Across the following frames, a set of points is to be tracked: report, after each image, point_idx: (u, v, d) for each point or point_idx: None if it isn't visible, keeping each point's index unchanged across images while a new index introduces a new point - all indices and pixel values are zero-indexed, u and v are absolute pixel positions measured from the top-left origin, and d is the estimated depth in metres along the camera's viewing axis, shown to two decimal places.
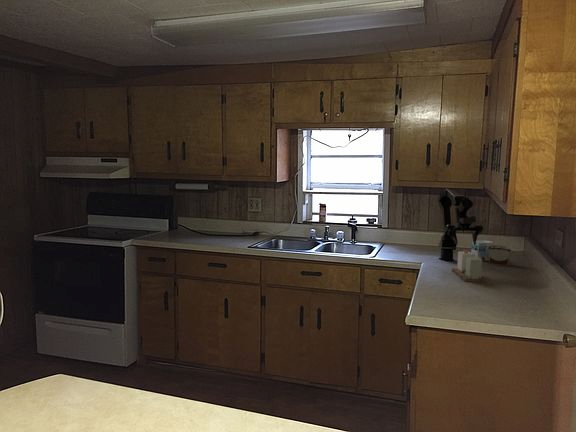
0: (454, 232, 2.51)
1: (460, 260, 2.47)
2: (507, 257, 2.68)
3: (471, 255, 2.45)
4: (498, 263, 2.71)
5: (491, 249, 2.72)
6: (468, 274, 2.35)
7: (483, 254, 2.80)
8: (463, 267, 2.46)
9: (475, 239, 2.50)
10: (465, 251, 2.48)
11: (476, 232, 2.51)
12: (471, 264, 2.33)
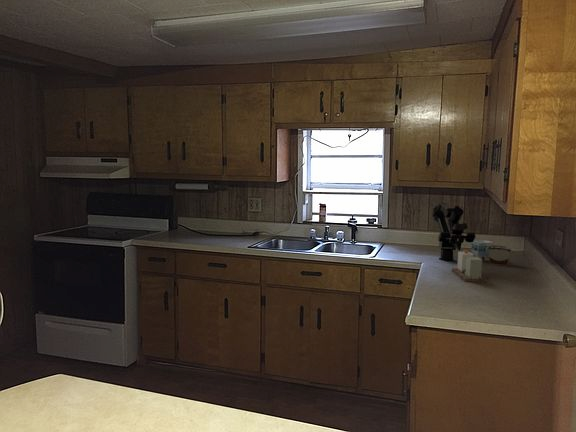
0: (455, 239, 2.61)
1: (460, 260, 2.47)
2: (507, 257, 2.68)
3: (471, 255, 2.45)
4: (498, 263, 2.71)
5: (491, 249, 2.72)
6: (468, 274, 2.35)
7: (483, 254, 2.80)
8: (463, 267, 2.46)
9: (460, 245, 2.59)
10: (465, 251, 2.48)
11: (460, 238, 2.61)
12: (471, 264, 2.33)
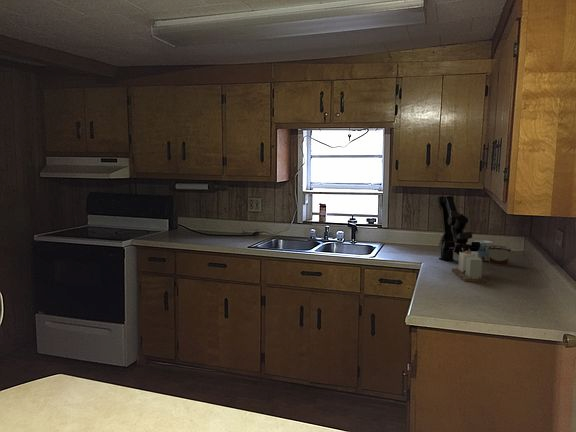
0: (460, 248, 2.53)
1: (461, 261, 2.46)
2: (507, 257, 2.68)
3: (472, 256, 2.43)
4: (498, 263, 2.71)
5: (491, 249, 2.72)
6: (468, 274, 2.35)
7: (483, 254, 2.80)
8: (464, 268, 2.44)
9: None
10: (466, 252, 2.46)
11: (465, 248, 2.53)
12: (471, 264, 2.33)
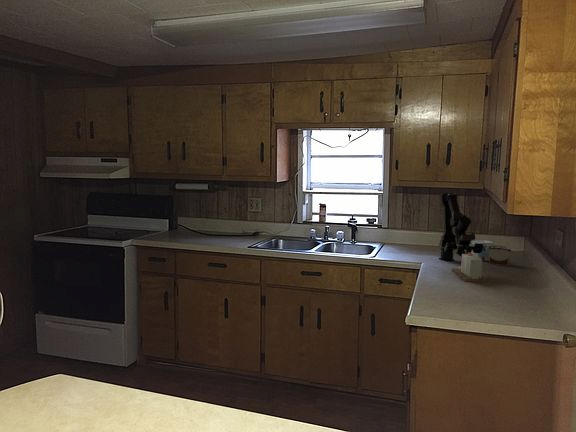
0: (463, 250, 2.48)
1: (464, 263, 2.41)
2: (507, 257, 2.68)
3: None
4: (498, 263, 2.71)
5: (491, 249, 2.72)
6: (468, 274, 2.35)
7: (483, 254, 2.80)
8: None
9: None
10: (469, 254, 2.42)
11: (468, 249, 2.48)
12: (471, 264, 2.33)
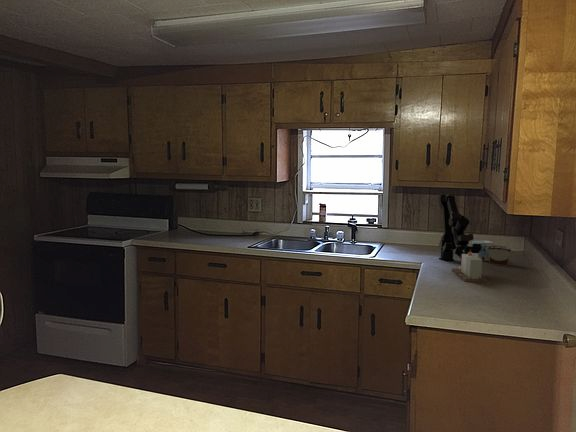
0: (461, 250, 2.51)
1: (464, 263, 2.41)
2: (507, 257, 2.68)
3: None
4: (498, 263, 2.71)
5: (491, 249, 2.72)
6: (468, 274, 2.35)
7: (483, 254, 2.80)
8: None
9: None
10: (469, 253, 2.42)
11: (466, 250, 2.51)
12: (471, 264, 2.33)
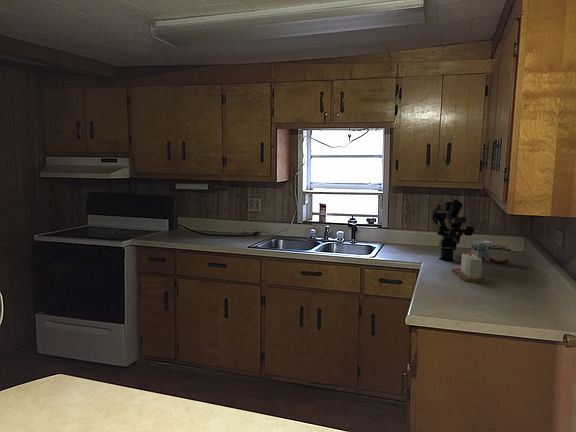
0: (454, 232, 2.63)
1: (464, 263, 2.41)
2: (507, 257, 2.68)
3: None
4: (498, 263, 2.71)
5: (491, 249, 2.72)
6: (468, 274, 2.35)
7: (483, 254, 2.80)
8: None
9: (458, 238, 2.61)
10: (469, 253, 2.42)
11: (459, 232, 2.63)
12: (471, 264, 2.33)
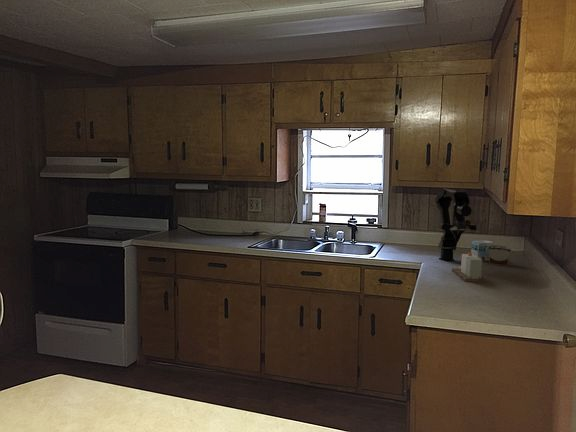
0: (456, 232, 2.64)
1: (464, 263, 2.41)
2: (507, 257, 2.68)
3: None
4: (498, 263, 2.71)
5: (491, 249, 2.72)
6: (468, 274, 2.35)
7: (483, 254, 2.80)
8: None
9: (458, 238, 2.65)
10: (469, 253, 2.42)
11: (460, 232, 2.64)
12: (471, 264, 2.33)
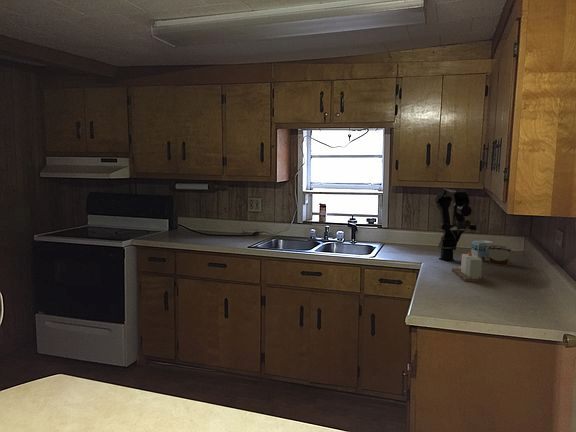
0: (456, 232, 2.64)
1: (464, 263, 2.41)
2: (507, 257, 2.68)
3: None
4: (498, 263, 2.71)
5: (491, 249, 2.72)
6: (468, 274, 2.35)
7: (483, 254, 2.80)
8: None
9: (458, 238, 2.65)
10: (469, 253, 2.42)
11: (460, 232, 2.64)
12: (471, 264, 2.33)
